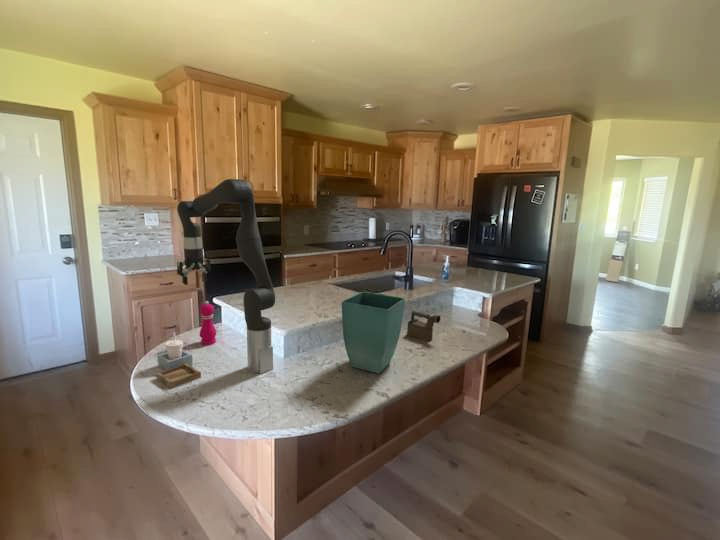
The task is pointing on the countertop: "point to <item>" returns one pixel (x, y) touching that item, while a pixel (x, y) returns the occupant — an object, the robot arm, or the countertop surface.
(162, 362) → the holder
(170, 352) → the smoothie
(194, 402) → the countertop surface
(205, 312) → the pepper mill
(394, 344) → the flower pot
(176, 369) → the tray
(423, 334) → the dark brown boxy piece
